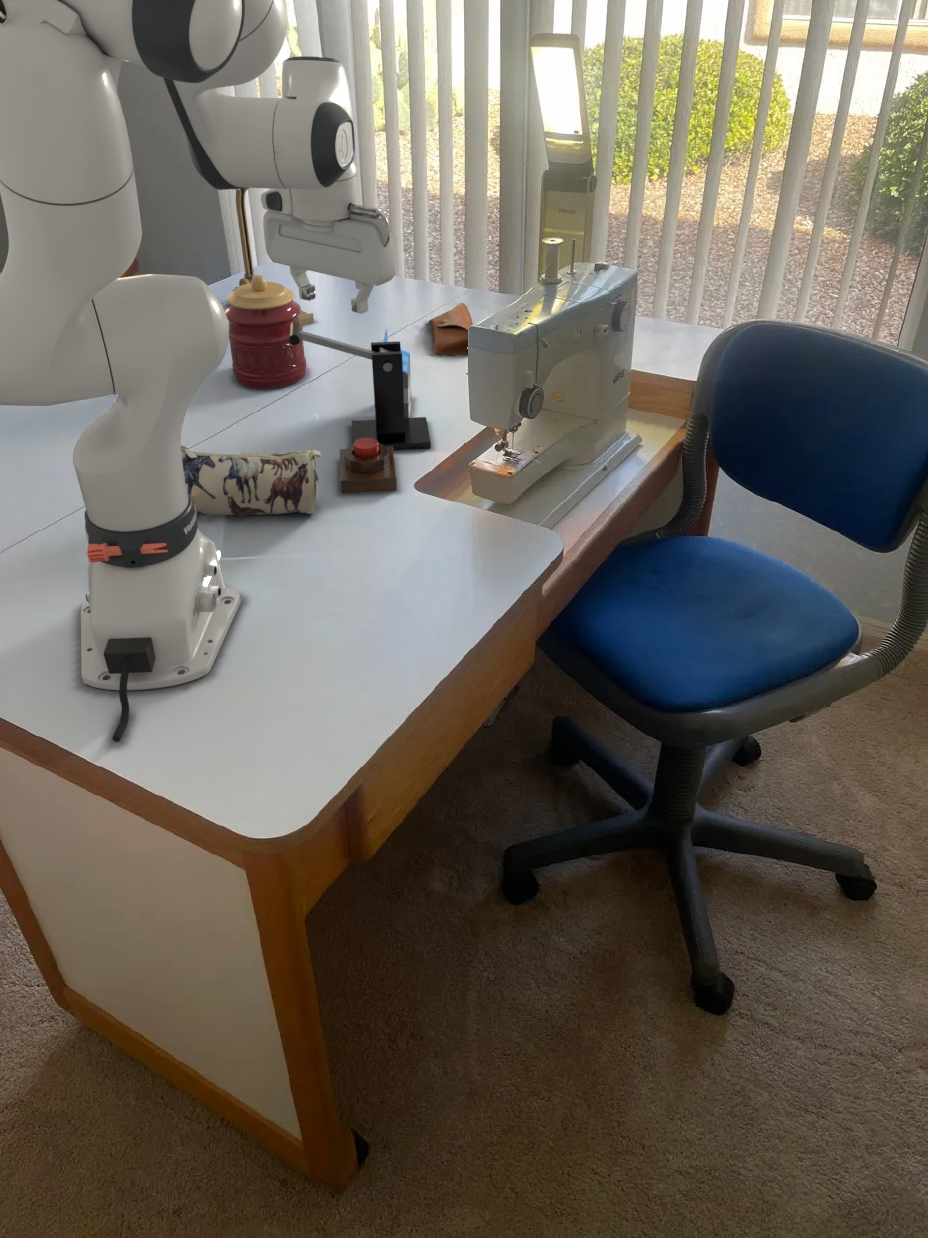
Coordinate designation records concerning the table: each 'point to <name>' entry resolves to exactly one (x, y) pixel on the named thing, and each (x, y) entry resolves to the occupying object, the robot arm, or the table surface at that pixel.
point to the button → (366, 448)
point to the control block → (367, 471)
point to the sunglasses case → (452, 331)
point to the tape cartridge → (405, 380)
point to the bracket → (391, 405)
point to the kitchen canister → (264, 335)
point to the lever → (328, 342)
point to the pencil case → (251, 482)
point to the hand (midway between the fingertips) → (333, 305)
